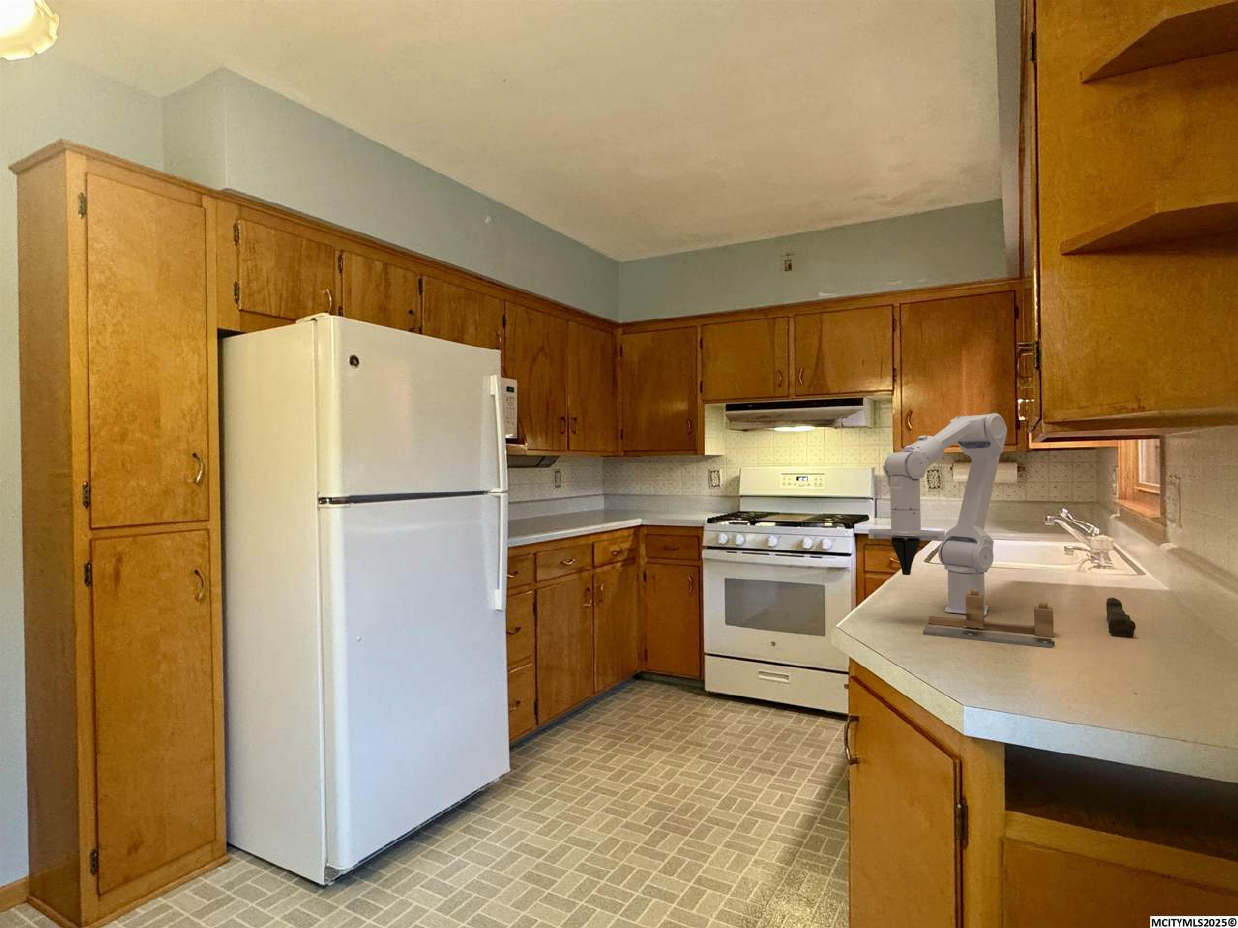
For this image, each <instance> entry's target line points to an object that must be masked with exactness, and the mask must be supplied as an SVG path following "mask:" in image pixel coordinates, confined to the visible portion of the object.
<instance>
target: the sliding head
mask: <svg viewBox="0 0 1238 928" xmlns="http://www.w3.org/2000/svg"><path fill="white" fill-rule="evenodd" d="M965 619H966V627H969V628H968V629H976V628H979V629H978V630H985V629H984V622H983V621H985V616H984V594H980V593H979V590H976V589H971V593H967V594H966V614H965ZM966 627H965V628H966Z"/></svg>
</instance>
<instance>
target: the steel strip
mask: <svg viewBox="0 0 1238 928" xmlns="http://www.w3.org/2000/svg"><path fill="white" fill-rule="evenodd" d="M922 632H923V633H922V634H923V635H927V634H929V635H928V636H936V635H938V636H937V637H945V636H948V637H949V638H955V637H956V638H958V639H964V638H965V639H966V640H973V641H974V640H975V641H976V640H977V641H985V642H993V643H995V642H996V643H1002V644H1011V645H1013V644H1014V645H1020V646H1021V645H1022V646H1031V647H1041V648H1051V649H1053V647H1055V644H1056V643H1055V640H1053V639H1052V638H1051V637H1041V636H1030V635H1019V634H1009V633H1007V634H1006V633H1000V632H999V633H998V632H989V631H977V630H970V629H969V630H968V629H958V628H949V627H940V626H939V627H938V626H930V625H929V626H928V625H925V627H924V628H923V631H922ZM948 637H947V638H948ZM956 638H955V639H956Z"/></svg>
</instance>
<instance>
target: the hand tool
mask: <svg viewBox="0 0 1238 928" xmlns="http://www.w3.org/2000/svg"><path fill="white" fill-rule="evenodd" d="M1105 605H1106V606H1105V607H1106V621H1107V623H1108V632H1109V633H1108V634H1110V635H1111V636H1112V637H1115V638H1116V637H1117V638H1123V639H1124V638H1127V639H1128V638H1129V639H1130V638H1133V637H1134V636H1135V631H1136V629H1137V628H1136V627H1137V626H1136V623H1135V622H1134V620H1132V619H1131V617H1130V615H1129V614H1126V612H1125V610H1124V609H1123V604H1122V602H1121V600H1119V599H1117V598H1115V597H1109V598H1106V603H1105Z"/></svg>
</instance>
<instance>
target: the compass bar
mask: <svg viewBox="0 0 1238 928" xmlns="http://www.w3.org/2000/svg"><path fill="white" fill-rule="evenodd" d="M1033 618H1034V619H1033V622H1034V623H1033V624H1034V625H1031V624H1021V623H1011V622H1010V623H1009V622H998V621H988V620H987V621H986V620H984V621H983V622H984V629H983V630H986V629H989V630H990V631H996V630H998V631H997V632H1007V633H1016V634H1017V633H1018V634H1027V635H1034V637H1044V638H1055V632H1054V608H1053V606H1050V605H1048V602H1045V601H1039V602H1038V605H1036V604H1034V605H1033ZM927 619H928V624H929V623H932V624H931V625H935V624H944V625H943V626H945V625H954V626H953V627H955V626H966V618H964V619H963V618H954V617H944V616H934V615H929V616H928V618H927Z"/></svg>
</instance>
